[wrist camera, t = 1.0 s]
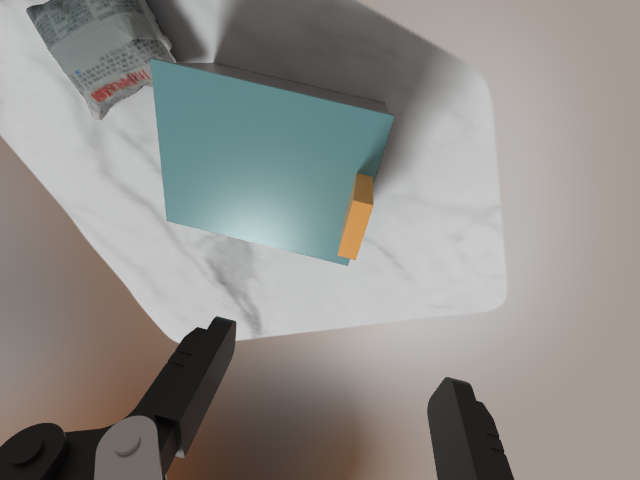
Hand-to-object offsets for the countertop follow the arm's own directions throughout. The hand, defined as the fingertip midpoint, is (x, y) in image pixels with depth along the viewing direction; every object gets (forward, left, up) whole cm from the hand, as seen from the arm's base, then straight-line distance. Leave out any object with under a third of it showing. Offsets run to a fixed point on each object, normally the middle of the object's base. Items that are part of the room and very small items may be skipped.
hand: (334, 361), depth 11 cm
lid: (-7, +1, -14) cm, 16 cm away
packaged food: (-23, +6, -23) cm, 33 cm away
